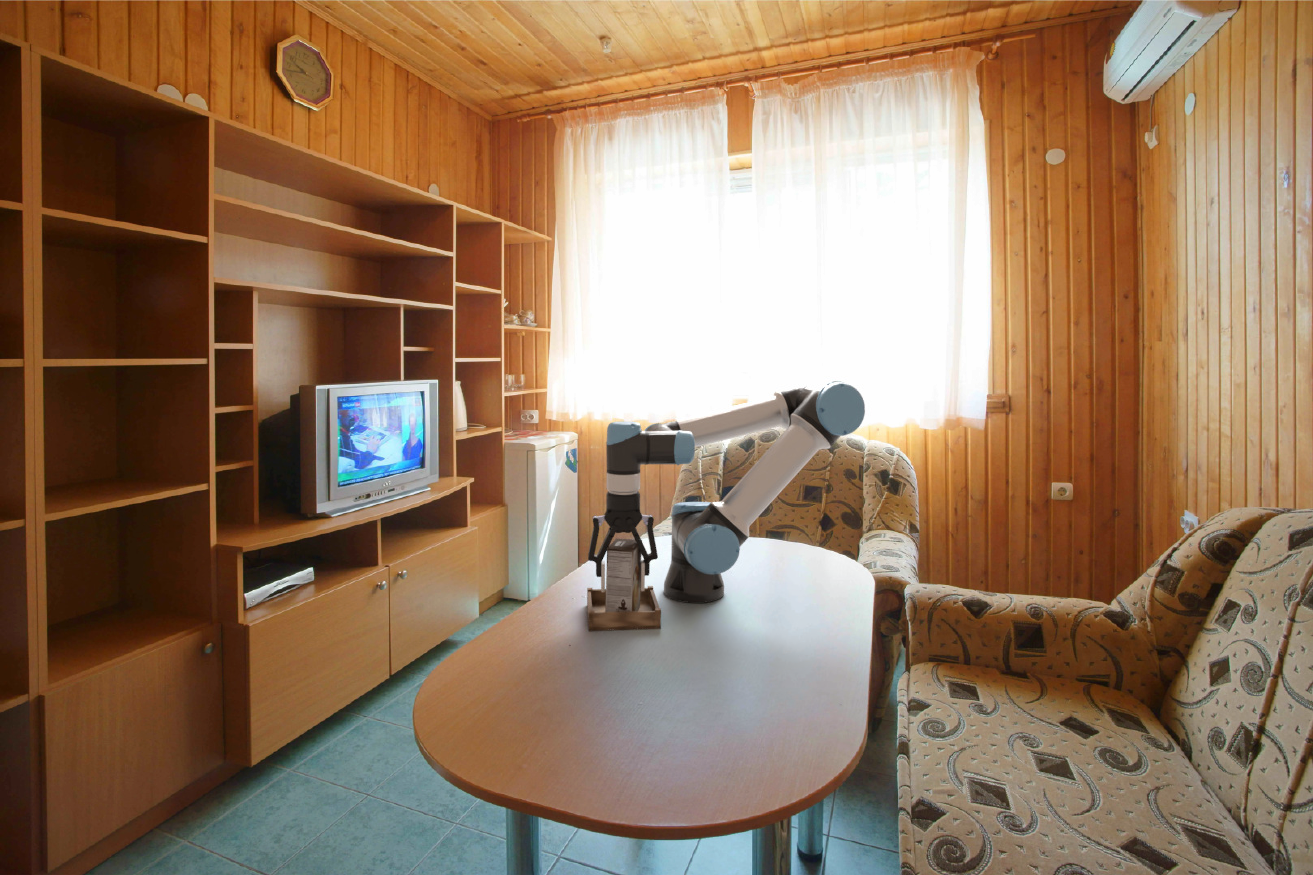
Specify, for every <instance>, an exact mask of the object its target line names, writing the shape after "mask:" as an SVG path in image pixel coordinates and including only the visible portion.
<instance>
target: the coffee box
mask: <svg viewBox="0 0 1313 875" xmlns="http://www.w3.org/2000/svg"><path fill="white" fill-rule="evenodd" d="M640 560H642V554H641V552H640V550H639V547H638V545H637V543H636V541H635V539H629V538H615V539H614V540H613V541H612V542H611V543H610V545H609V547H608V548H607V551H606V570H605V589H606V608H605V612H629V611H637V610H638V609H639V607H640Z"/></svg>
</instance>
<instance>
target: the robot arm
mask: <svg viewBox="0 0 1313 875" xmlns="http://www.w3.org/2000/svg"><path fill="white" fill-rule="evenodd" d="M865 415H866V408H865V401H864V397H863V396H862V394H861V393H860V391H859V390H858V389H857V388H856V387H854V386H852V385H851V384H849V383H846V382H843V381H838V380H835V381H827V380H820V379H819V380H818V379H817V380H811V381H807V382H804V383H801V384H798V385H794V386H792V387H788V388H785V389H782V390H778V391H775V392H774V393H773V395H772V396H770V397H767V398H763V399H758V400H754V401H751V402H747V403H746V402H745V403H742V404H737V405H733V406H730V407H726V408H723V409H717V410H713V411H710V412H706V413H702V414H701V413H700V414H698V415H693V416H688V417H686V418H682V419H681V418H680V419H677V420H673V421H669V422H666V423H659V422H658V423H652V424H650V425H648V426H647V427H646V428H645V429H643V430H642V427H641V424H640V423H639V422H638V421H637V422H636V421H623V420H622V421H613V422H610V423H609V424H608V426H607V429H606V442H605V444H606V446H605V447H606V451H605V452H606V454H605V455H606V481H605V482H606V483H605V484H606V485H605V486H606V490H607V492H606V494H605V495H606V498H605V499H606V502H605V504H606V505H605V506H606V510H605V513H604V515H598V516H597V515H593V516H592V524H593V527H592V533H591V537H590V538H591V539H590V543H589V548H588V553H587V558H588V561H589V562H594V563H595V576H596V577H597V578H600V589H601V592H605V589H606V563H605V560H603V559H604V558H605V555H607V548H608V547H609V546H610V545H611V544H612V542H613V541H612V540H613V538H614V537H615V535H616V534H621V533H626V534H632V536H633V540H635V541H636V543H637V545H638V547H639V550H640V552H641V557H642V559H641V560H640V589H641V591H645V588H646V587H645V584H646V582H645V580H646V579H645V578H646V577H645V576H647V577H648V576H650V565H651V564H650V562H651V561H653V560H657V559H658V558H659V557H658V556H659V554H658V549H657V545H656V539H655V533H654V520H655V519H654V516H653V514H648V515H646V514H642V512H641V493H640V492H639V491H640V490H641V466H643V465H645V466H646V465H647V466H648V465H676V466H680V465H689V464H691V463H692V462H693V461H694V459H695V454H696V452H695V451H696V448H697V447H702V446H706V445H710V444H715V443H717V442H718V443H719V442H723V441H727V440H730V439H731V440H732V439H734V438H735V439H736V438H739V437H742V436H746V435H751V434H754V433H759V432H762V431H766V430H771V429H774V428H779V427H780V428H781V429H783V430H784V432H782V434H780V436H779V437H778V438H777V439H776V441H774V443H772V445H771V446H770V447H769V448H768V449H767V450H766V451H765V452H764V453H763V455H762V456H761V457H760V458H759V459H758V460H757V461H756V462H755V464H754V465H753V466H752V467H751V468H750V469H749V470H748V471H747V472H746V473H745V474H744V476H742V478H741V479H740V480H739V481H738V482H737V483H736V484H735V485H734V486H733V488H732V489H731V490H730V491H729V492H728V493H727V494H726V495H725V496H724V497H723V499H722V500H720V501H710V502H709V501H688V502H686V501H684V502H683V501H682V502H678V503H675V504H674V505H673V506H672V509H671V511H672V512H671V516H670V517H671V555H670V556H671V561H670V564H669V567H668V570H667V572H666V573H667V574H666V575H665V579H664V584H663V593H664V595H665V596H666V597H667V598H670V599H672V600H674V601H677V602H684V603H691V604H692V603H697V604H698V603H710V602H714V601H717V600H720V599H721V598H723V597H724V595H725V584H724V580H723V576H722V573H725V572H727V571H729V570H730V569H731V568H732V567H733V566H734V565H735V564H736V563H737V561H738V559H739V556H740V550H741V547H742V545H743V544H744V543H745V542H746V541H747V540H748V538H749V537H750V526H751V525H752V524H753V523H754V522H755V521H756V520H757V519H758V517H759V516H760V515H761V514H762V513H763V512H764V511H765V510H766V509H767V508H768V506H769V505H770V504H771V503H772V502H773V501H774V500H775V499H776V498H777V497H778V496H779V494H780V493H781V492H782V491H783V490H784V489H785V488H786V487H787V485H788V484H790V482H791V481H792V480H793V479H794V478H795V477H796V476H797V475H798V474H799V472H800V471H801V470H802V469H803V468H804V467H805V466H806V465H807V464H808V462H809V461H810V460H811V459H812V458H813V457H814V456H815V455H816V454H817V452H819V450H825V449H826V450H827V449H831V447H832V446H833V445H834V444H835V443H836V442H837V440H839V439H840V438H841V437H843V436H847V435H850V434H852V433H854V432H855V431H857V430H858V429H859V427H860V426H861V424H862V423H863V420H864V419H865ZM604 521H605V522H606V523H607V525H608V526H609V528H608V530H607V533H606V535H605V537H604V540H603V542H602V544H601V546H600V548H599V550H598V552H597V553H596V550H597V549H596V547H597V544H598V538H599V533H600V527H601V526H602V525H603V523H604ZM641 521H643V525H645V526H646V533H647V538H648V544H649V549H650V553H648V551H647V549H646V548H645V545H644V542H643V539H642V538H641V536H640V534H639V531H638V529H637V526H638V525H639V524H640V522H641Z"/></svg>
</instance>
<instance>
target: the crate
mask: <svg viewBox="0 0 1313 875" xmlns="http://www.w3.org/2000/svg"><path fill="white" fill-rule="evenodd" d="M586 592H587V593H586V594H587V595H586V600H587V602H586V603H587V604H586V607H587V623H588V624H587V627H588V632H605V631H628V630H629V631H630V630H632V631H634V630H636V631H637V630H658V629H659V630H660V629H661V628H662V626H661V625H662V620H661V618H662V610H661V608H660V605H659V603H658V602H659V601H658V599H657V597H656V594H655V591H654V586H653V585H649V586H648V585H647V587H645V591H641V589H640V607H639V609H638V610H637V611H629V612H605V608H606V588H605V592H601V588H595V589H594V588H593V587H587V590H586Z"/></svg>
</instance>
